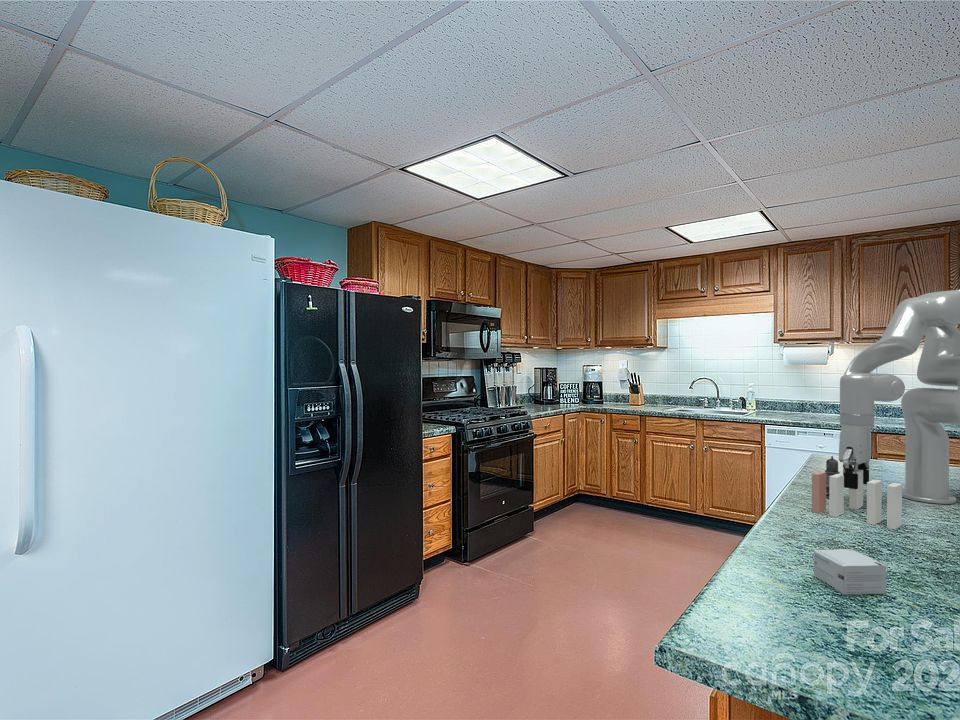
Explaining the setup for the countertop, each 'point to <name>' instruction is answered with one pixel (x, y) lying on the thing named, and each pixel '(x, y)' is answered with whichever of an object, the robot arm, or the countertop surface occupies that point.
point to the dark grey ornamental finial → (830, 471)
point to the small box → (850, 571)
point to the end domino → (818, 492)
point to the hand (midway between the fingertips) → (856, 485)
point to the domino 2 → (857, 493)
